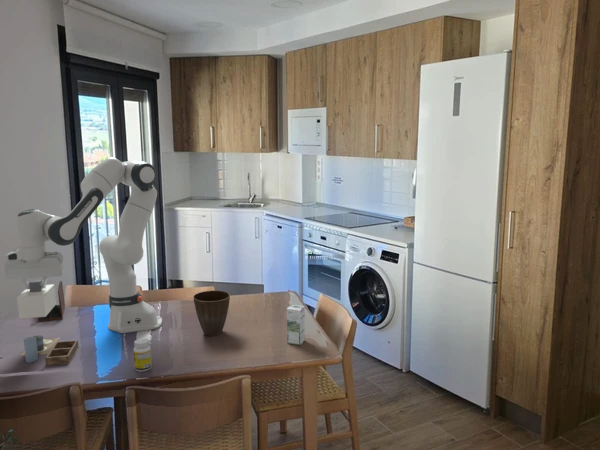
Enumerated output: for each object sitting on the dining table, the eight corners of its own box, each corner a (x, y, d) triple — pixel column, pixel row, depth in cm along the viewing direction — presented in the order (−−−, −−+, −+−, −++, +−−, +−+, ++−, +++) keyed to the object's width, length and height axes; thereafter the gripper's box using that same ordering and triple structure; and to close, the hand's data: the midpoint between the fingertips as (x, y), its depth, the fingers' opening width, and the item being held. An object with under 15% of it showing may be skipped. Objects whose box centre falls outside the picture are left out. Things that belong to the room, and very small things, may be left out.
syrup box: (305, 340, 208) (305, 305, 206) (300, 345, 203) (300, 309, 201) (291, 338, 210) (291, 303, 208) (286, 343, 205) (286, 308, 202)
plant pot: (238, 332, 217) (237, 295, 215) (209, 342, 207) (208, 303, 204) (216, 323, 228) (214, 288, 225) (187, 333, 217) (185, 296, 214)
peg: (39, 360, 191) (37, 336, 189) (36, 364, 187) (34, 340, 186) (27, 360, 190) (25, 337, 189) (24, 365, 186) (22, 341, 185)
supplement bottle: (136, 365, 186) (135, 337, 184) (153, 364, 186) (151, 337, 185) (132, 372, 180) (131, 344, 179) (149, 371, 181) (148, 343, 179)
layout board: (60, 340, 210) (59, 325, 209) (49, 356, 194) (47, 340, 193) (33, 341, 208) (32, 327, 207) (20, 358, 192) (18, 342, 191)
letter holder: (65, 306, 253) (62, 278, 251) (62, 319, 235) (60, 289, 232) (42, 309, 249) (39, 280, 247) (38, 322, 231) (35, 291, 229)
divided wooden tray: (79, 349, 201) (78, 340, 200) (69, 365, 186) (68, 356, 185) (56, 350, 199) (56, 341, 198) (45, 367, 184) (44, 357, 184)
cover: (56, 304, 207) (53, 275, 205) (45, 316, 192) (42, 286, 190) (31, 305, 205) (28, 277, 203) (19, 318, 191) (15, 287, 189)
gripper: (64, 249, 200) (67, 284, 202) (6, 252, 196) (10, 288, 199) (59, 253, 194) (63, 289, 196) (0, 256, 190) (4, 292, 192)
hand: (36, 288), depth 197 cm, fingers closed on cover, 3 cm apart
